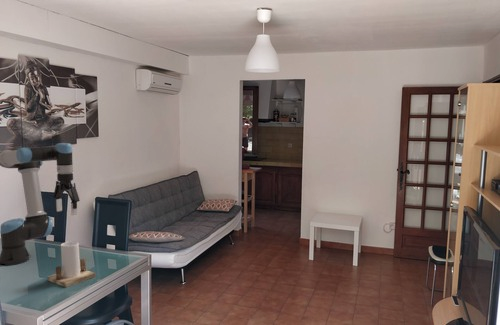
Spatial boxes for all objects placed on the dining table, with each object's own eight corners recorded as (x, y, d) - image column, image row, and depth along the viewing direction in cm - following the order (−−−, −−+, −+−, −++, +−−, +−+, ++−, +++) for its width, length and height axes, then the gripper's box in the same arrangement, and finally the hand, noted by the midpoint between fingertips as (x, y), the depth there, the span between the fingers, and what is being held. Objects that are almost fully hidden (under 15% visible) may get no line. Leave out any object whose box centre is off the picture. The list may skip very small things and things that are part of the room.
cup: (69, 279, 201) (67, 247, 199) (59, 275, 205) (57, 244, 204) (83, 273, 208) (82, 242, 206) (73, 270, 212) (72, 240, 210)
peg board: (47, 280, 204) (46, 264, 204) (76, 270, 218) (75, 256, 217) (66, 287, 196) (65, 271, 195) (95, 276, 209) (94, 261, 208)
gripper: (45, 171, 217) (46, 210, 219) (72, 176, 203) (74, 217, 205) (58, 170, 223) (60, 208, 225) (85, 174, 209) (87, 214, 211)
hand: (66, 212), depth 215 cm, fingers open, 13 cm apart
